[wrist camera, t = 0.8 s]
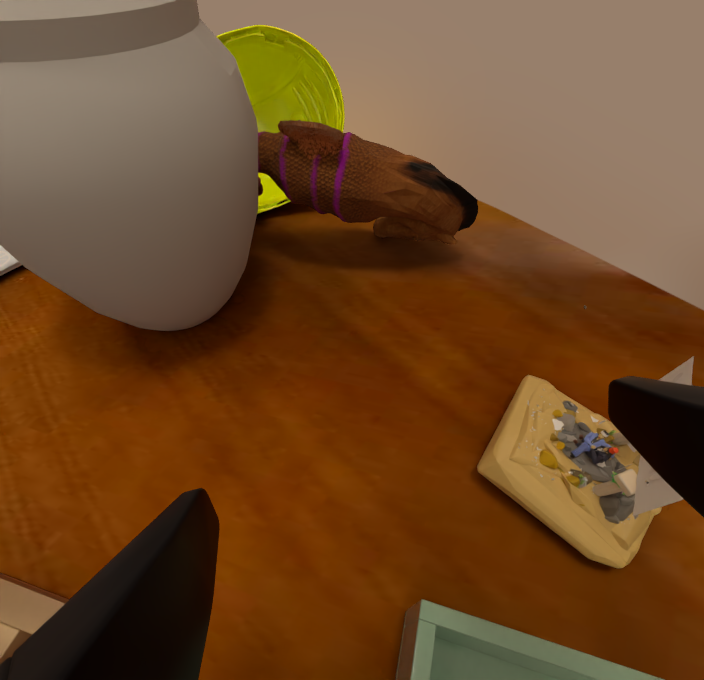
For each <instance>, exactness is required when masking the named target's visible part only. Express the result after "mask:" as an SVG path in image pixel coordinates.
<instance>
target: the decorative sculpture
mask: <svg viewBox="0 0 704 680" xmlns="http://www.w3.org/2000/svg"><path fill="white" fill-rule="evenodd" d="M278 128H279V131H280V132H278V133H271V132H265V131H263V132H258V172H259V173H264V174H266V175H268V176H269V177H270V178H271V179H272V180H273V181H274V182H275V183H276V185H277V186H278V187H279V188H280V189H281V190H282V191H283V192H284V193H285V195H286V197H287V198H288V199H289V200H290V201H291V202H292V203H295V204H297V203H301V204H305V205H307V206H309V207H312V208H314V209H315V210H316V211H317V212H318V213H321V214H326V213H332V214H333V215H335V216H337V217H339V218H340V219H341V220H342V221H344V222H348V223H354V222H370V221H373V220H375V219H376V221H375V223H374V227H373V229H374V234H375V235H376V236H380V237H381V238H385V237H390V236H391V237H396V238H405V239H411V240H416V241H421V240H425V239H428V240H440V241H441V242H443V243H447V244H457V241H456V239H455V238H454V237H453V236H454V235H455V233H456V232H457V231H460V230H462V229H464V228H468V227H470V226H471V225H472V224H473V223H474V221H475V219H476V216H477V213H478V205H477V199H476V198H474V197H473V196H472V195H471V194H470V193H469V192H467V191H466V190H465V189H464V188H463V187H461V186H460V185H459V184H457V183H455V182H454V181H452V180H450V179H448V178H447V177H446V176H445V175H443V174H442V173H441V172H440V171H439V170H438V169H436V167H435V166H433V165H432V164H431V163H429V162H426V161H424V160H421V159H419V158H417V157H414V156H411V155H405V154H402V153H400V152H399V151H396V150H394V149H392V148H389V147H386V146H383V145H380V144H377V143H373V142H369V141H365V140H363V139H361V138H359V137H358V136H356V135H355V134H352V133H350V132H348V133H342V132H341V131H340V130H338V129H336V128H333V127H330V126H327V125H324V124H322V123H317V122H308V121H300V120H298V121H294V120H288V121H280V122H279V124H278ZM262 193H263V186H262V184H261V180H260V178H259V177H258V196H260V195H261V194H262Z"/></svg>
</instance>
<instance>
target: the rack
mask: <svg viewBox="0 0 704 680" xmlns="http://www.w3.org/2000/svg"><path fill="white" fill-rule="evenodd" d="M67 601H69V599H66V598H64V597H61V596H58V595H56V594H53V593H51V592H48V591H45V590H43V589H40V588H38V587H35V586H33V585H30V584H27V583H25V582H22V581H20V580H17V579H15V578H12V577H9V576H7V575H4V574H2V573H0V664H1V663H2V662H4V661H5V660H6V659H7V658H9V657H12V655H13V653H14V651H15V650H16V649H18V648H19V647H20V646H21V645H22V644H23V643H24V642H25V641H26V640H27V639H28V638H29V637H30V636H31V635H32V634H33V633H35V632H36V631H37V630H38V629H39V628H40V627H41V626H42V625H43V624H44V623H45V622H46V621H47V620H48V619H49V618H50V617H52V616H53V615H54V614H55V613H56V612H57V611H58V610H59V609H60V608H61V607H62V606H63V605H64V604H65V603H66V602H67Z"/></svg>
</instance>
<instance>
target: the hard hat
mask: <svg viewBox="0 0 704 680" xmlns="http://www.w3.org/2000/svg"><path fill="white" fill-rule="evenodd" d="M216 37H217V38H218V39H219V40H220V41H221V42H222V43H223V45H224V46H225V47H226V48H227V49H228V50H229V51H230V52H231V54H232V55H233V56H234V57H235V59H236V62H237V65H238V68H239V70H240V73H241V76H242V79H243V82H244V85H245V88H246V91H247V93H248V96H249V99H250V102H251V105H252V108H253V111H254V114H255V116H256V120H257V127H258V132H263V131H265V132H271V133H278V132H280V131H279V128H278V124H279V122H280V121H288V120H294V121H298V120H300V121H308V122H317V123H322V124H324V125H327V126H330V127H333V128H336V129H338V130H340V131H341V132H342V133H343V129H344V117H345V116H344V115H345V114H344V102H343V96H342V92H341V89H340V85H339V83H338V80H337V78H336V76H335V73H334V71H333V70H332V68H331V66H330V65H329V63H328V62H327V61H326V59H325V58H324V57H323V55H322V54H321V53H320V52H319V51H318V50H317V49H316V48H315V47H314V46H313V45H311V44H310V43H309V42H307V41H306V40H304V39H303V38H301V37H299V36H297V35H295V34H293V33H291V32H288V31H286V30H283V29H280V28H276V27H272V26H266V25H254V26H249V27H245V28H240V29H236V30H233V31H229V32H226V33H223V34H221V35H218V36H216ZM258 177H259V178H260V180H261V184H262V186H263V193H262V194H261V195H260V196H258V212H257V214H258V213H261V212H264V211H268V210H271V209H273V208H277V207H279V206H281V205H284V204H286V203H289V202H291V201H290V200H289V199H288V198H287V197H286V195H285V193H284V192H283V191H282V190H281V189H280V188H279V187H278V186H277V185H276V183H275V182H274V181H273V180H272V179H271V178H270V177H269V176H268V175H266V174H264V173H259V172H258ZM284 200H287V201H286V202H283V203H281V204H278V203H279V202H281V201H284ZM277 204H278V205H277Z"/></svg>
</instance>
